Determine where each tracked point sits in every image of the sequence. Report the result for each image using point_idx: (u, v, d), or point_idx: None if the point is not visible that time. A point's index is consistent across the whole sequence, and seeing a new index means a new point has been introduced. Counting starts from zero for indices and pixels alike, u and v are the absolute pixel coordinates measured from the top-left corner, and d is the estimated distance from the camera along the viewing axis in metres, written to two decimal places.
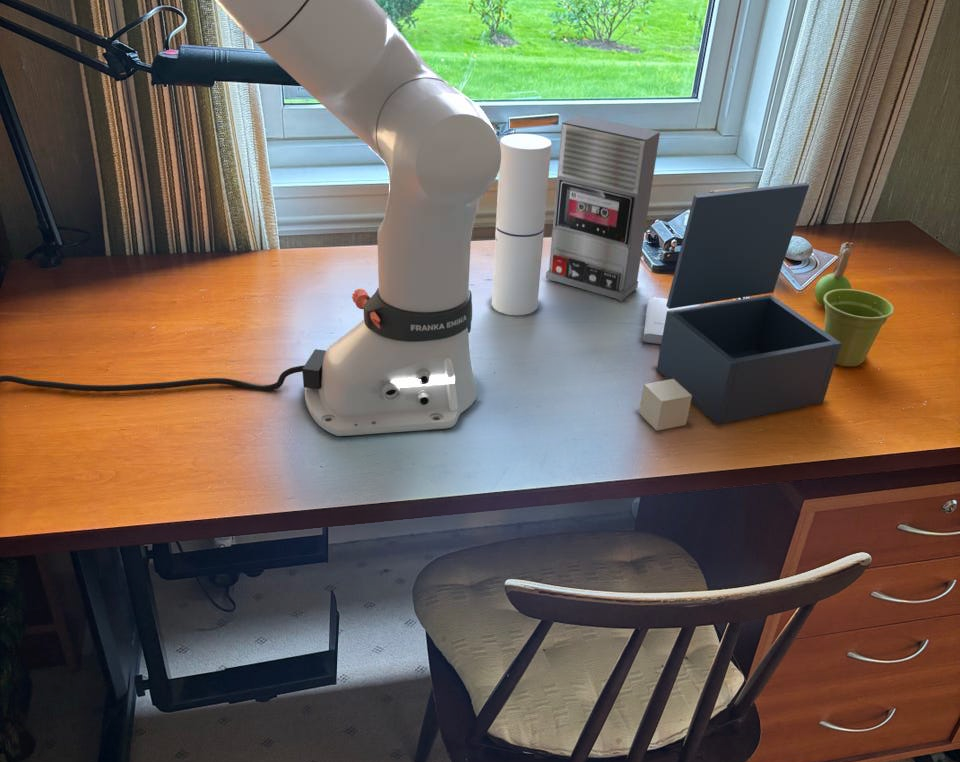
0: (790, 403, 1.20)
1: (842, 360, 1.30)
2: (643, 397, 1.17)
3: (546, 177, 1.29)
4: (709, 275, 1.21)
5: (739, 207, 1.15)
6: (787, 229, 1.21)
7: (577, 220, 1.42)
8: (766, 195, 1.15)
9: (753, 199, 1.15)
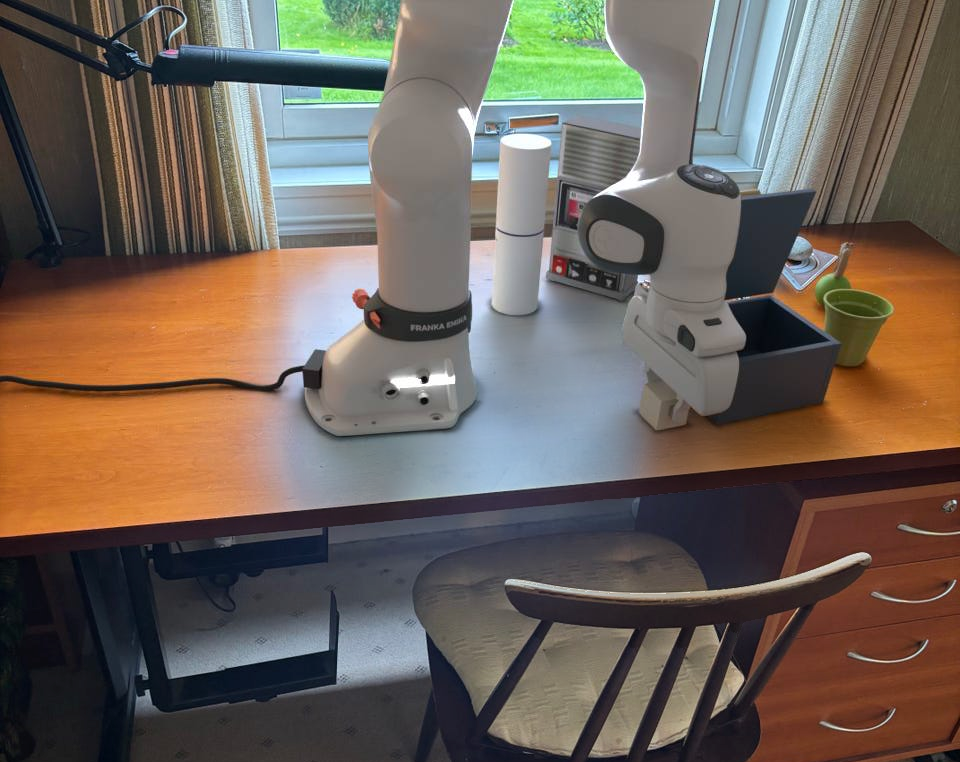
0: (790, 403, 1.20)
1: (842, 360, 1.30)
2: (642, 396, 1.17)
3: (546, 177, 1.29)
4: None
5: (745, 213, 1.14)
6: (791, 233, 1.20)
7: (577, 220, 1.42)
8: (773, 201, 1.14)
9: (759, 205, 1.14)
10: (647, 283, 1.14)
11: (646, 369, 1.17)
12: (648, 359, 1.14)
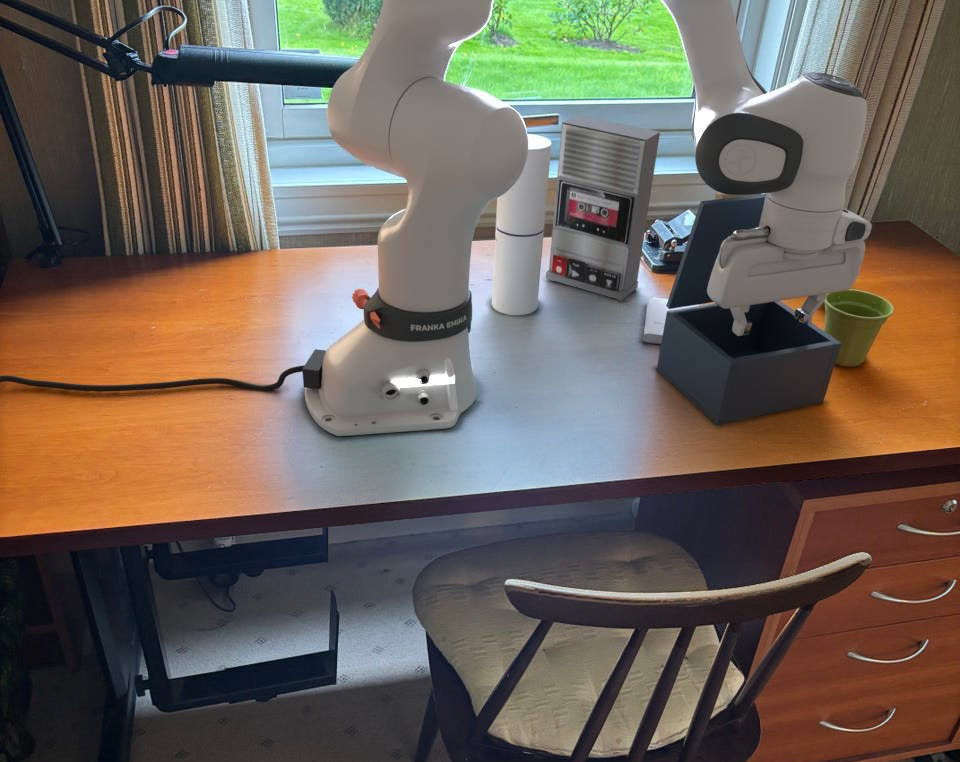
0: (790, 403, 1.20)
1: (842, 360, 1.30)
2: None
3: (546, 177, 1.29)
4: None
5: (745, 213, 1.14)
6: None
7: (577, 220, 1.42)
8: None
9: (759, 205, 1.14)
10: (745, 231, 1.05)
11: (745, 310, 1.11)
12: (773, 294, 1.10)
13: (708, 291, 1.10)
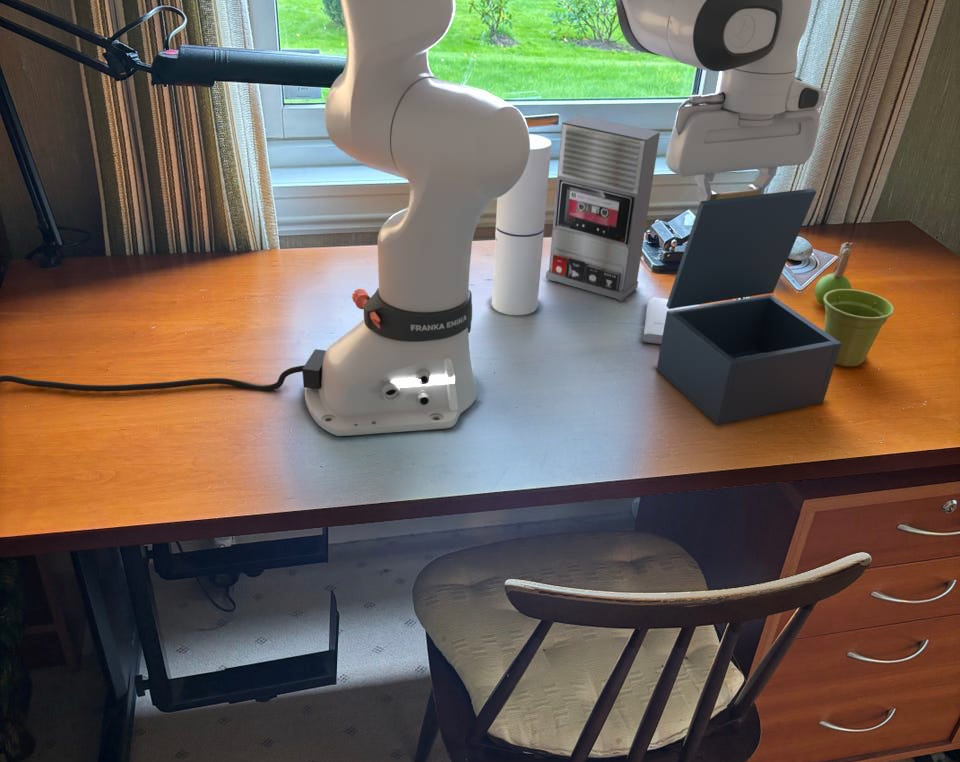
0: (790, 403, 1.20)
1: (842, 360, 1.30)
2: None
3: (546, 177, 1.29)
4: (710, 278, 1.21)
5: (745, 213, 1.14)
6: (791, 233, 1.20)
7: (577, 220, 1.42)
8: (773, 201, 1.14)
9: (759, 205, 1.14)
10: (700, 96, 1.08)
11: (710, 180, 1.15)
12: (730, 163, 1.13)
13: (666, 160, 1.13)
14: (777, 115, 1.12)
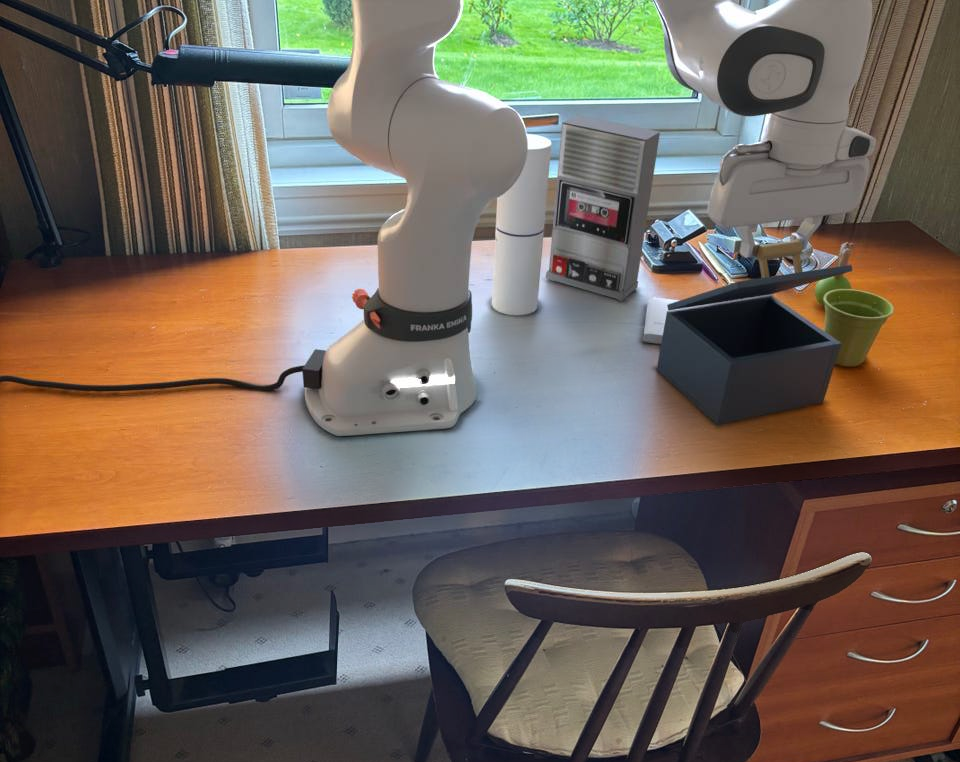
0: (790, 403, 1.20)
1: (842, 360, 1.30)
2: None
3: (546, 177, 1.29)
4: (718, 299, 1.20)
5: (775, 284, 1.12)
6: (811, 281, 1.18)
7: (577, 220, 1.42)
8: (806, 278, 1.12)
9: (792, 281, 1.11)
10: (746, 146, 1.02)
11: (753, 230, 1.09)
12: (775, 213, 1.08)
13: (708, 211, 1.07)
14: (825, 164, 1.06)
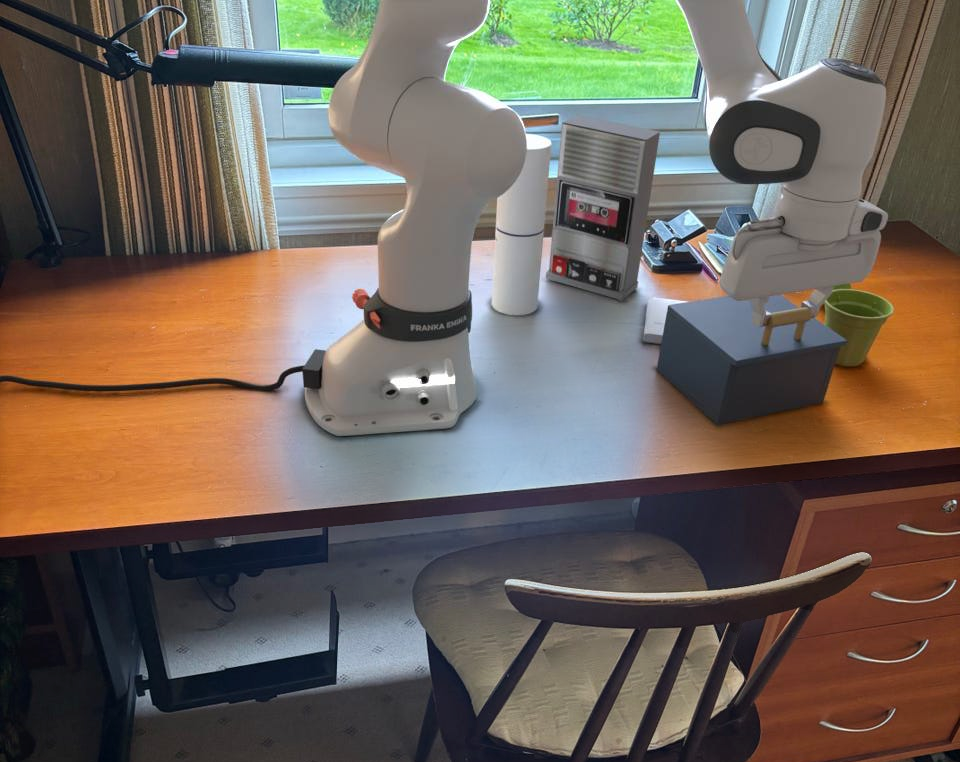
0: (790, 403, 1.20)
1: (842, 360, 1.30)
2: None
3: (546, 177, 1.29)
4: None
5: None
6: None
7: (577, 220, 1.42)
8: None
9: None
10: (760, 222, 1.03)
11: (765, 302, 1.09)
12: (787, 286, 1.08)
13: (721, 283, 1.08)
14: None
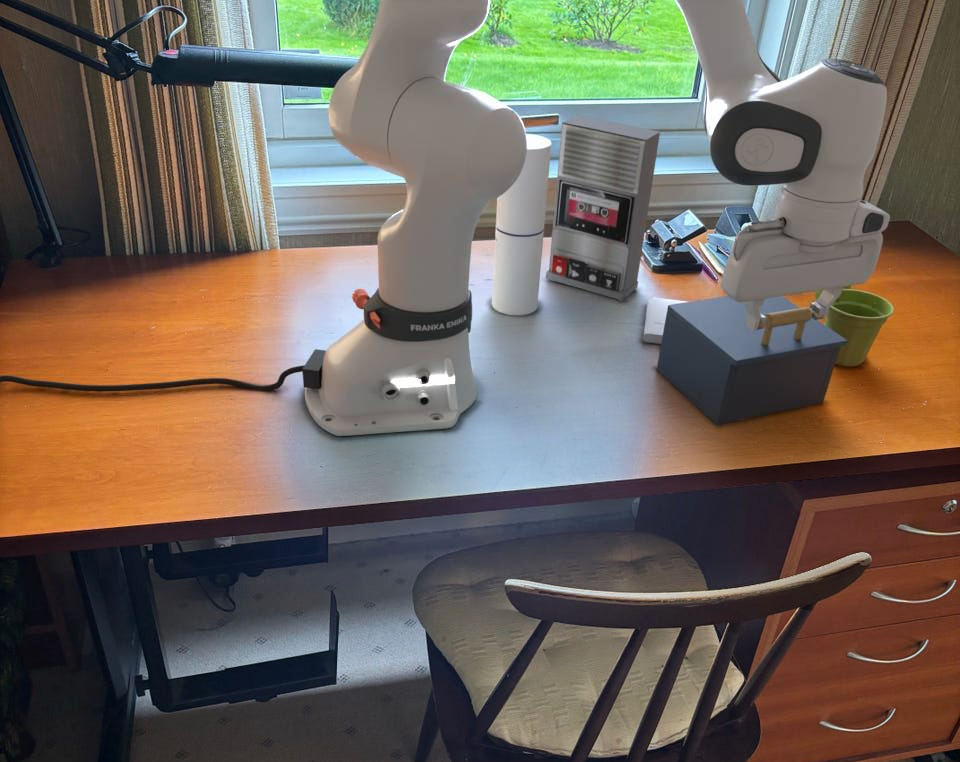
0: (790, 403, 1.20)
1: (842, 360, 1.30)
2: None
3: (546, 177, 1.29)
4: None
5: None
6: None
7: (577, 220, 1.42)
8: None
9: None
10: (761, 223, 1.03)
11: (760, 304, 1.09)
12: (788, 287, 1.08)
13: (722, 284, 1.08)
14: None
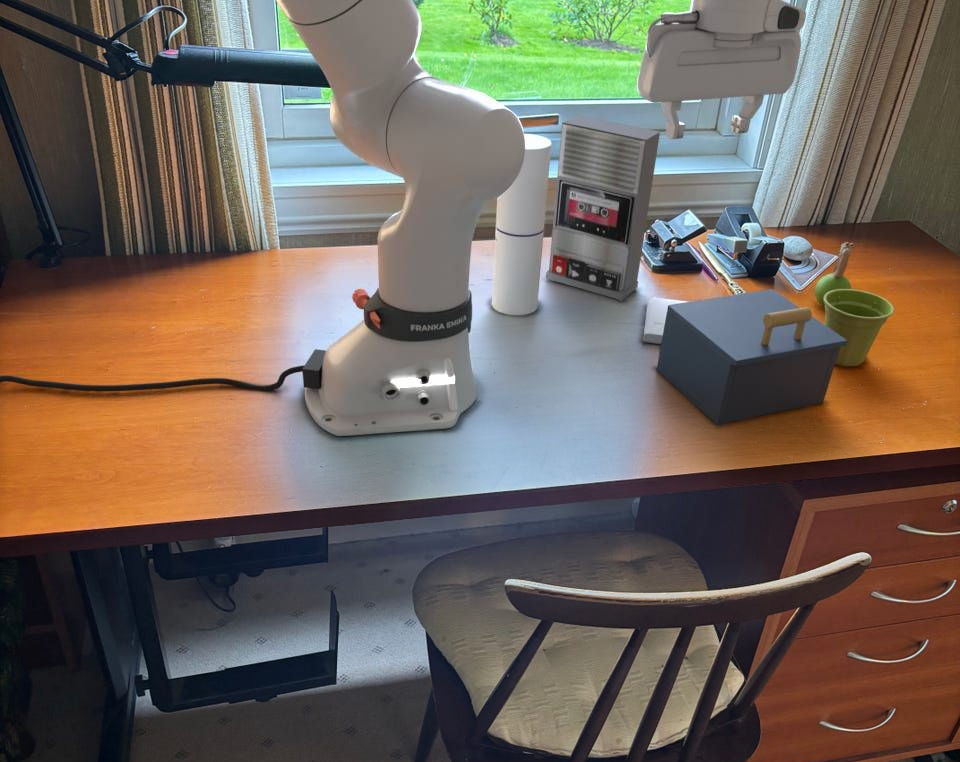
0: (790, 403, 1.20)
1: (842, 360, 1.30)
2: None
3: (546, 177, 1.29)
4: None
5: None
6: None
7: (577, 220, 1.42)
8: None
9: None
10: (672, 14, 1.01)
11: (677, 108, 1.07)
12: (705, 89, 1.06)
13: (638, 86, 1.06)
14: (755, 37, 1.05)
